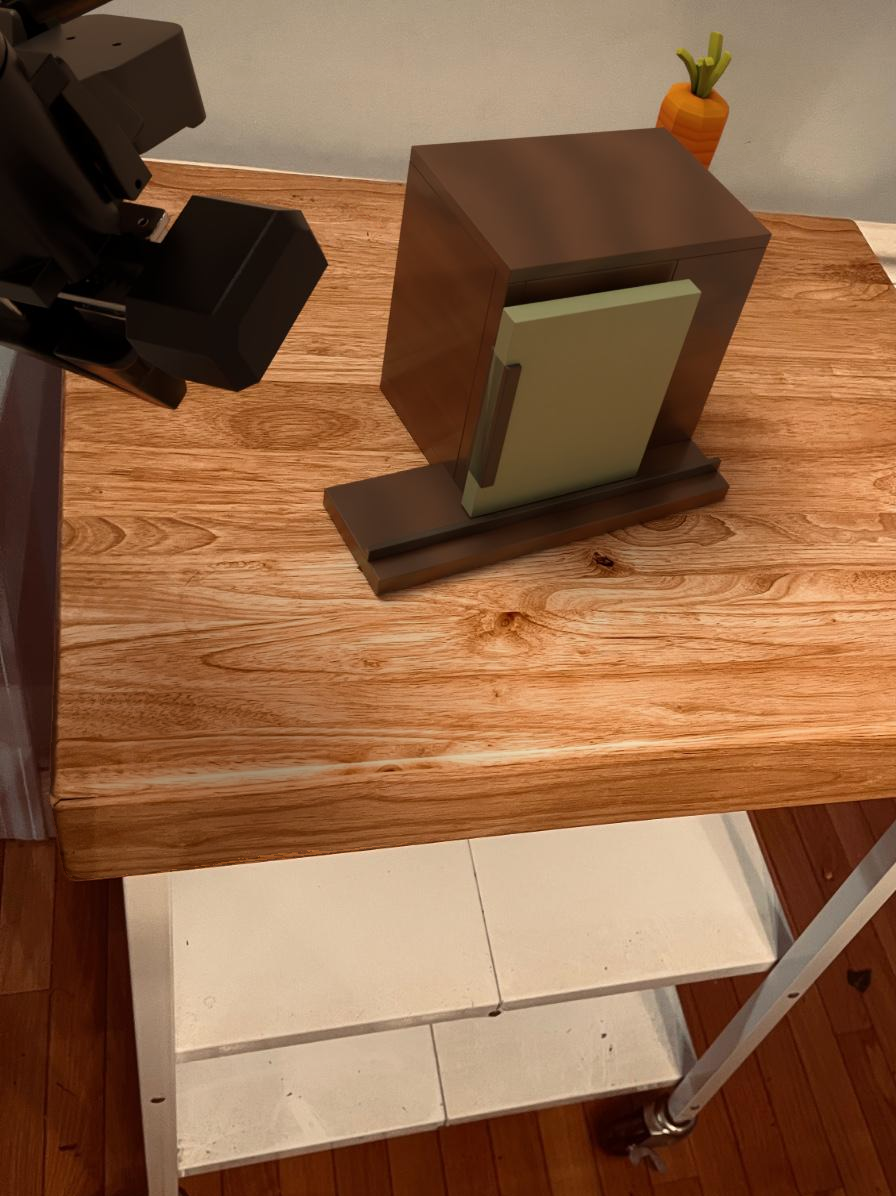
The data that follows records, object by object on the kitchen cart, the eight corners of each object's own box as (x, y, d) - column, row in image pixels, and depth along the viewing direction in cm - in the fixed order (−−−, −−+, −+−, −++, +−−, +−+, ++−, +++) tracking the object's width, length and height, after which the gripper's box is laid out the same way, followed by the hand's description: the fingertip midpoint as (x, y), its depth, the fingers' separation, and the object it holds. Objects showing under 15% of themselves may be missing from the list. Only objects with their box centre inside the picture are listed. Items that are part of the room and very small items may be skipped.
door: (473, 522, 64) (518, 326, 55) (458, 499, 65) (499, 303, 55) (638, 480, 70) (705, 295, 60) (622, 459, 70) (686, 274, 61)
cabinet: (376, 596, 61) (414, 350, 49) (266, 408, 68) (277, 154, 56) (724, 499, 72) (821, 281, 61) (599, 347, 79) (664, 126, 68)
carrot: (663, 260, 88) (726, 64, 77) (612, 227, 90) (667, 29, 79) (700, 240, 91) (765, 49, 81) (650, 208, 93) (708, 16, 82)
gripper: (307, -73, 35) (454, 288, 49) (-152, -114, 41) (96, 219, 54) (115, 205, 31) (335, 513, 45) (-365, 116, 37) (-40, 413, 50)
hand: (174, 399), depth 49 cm, fingers closed
